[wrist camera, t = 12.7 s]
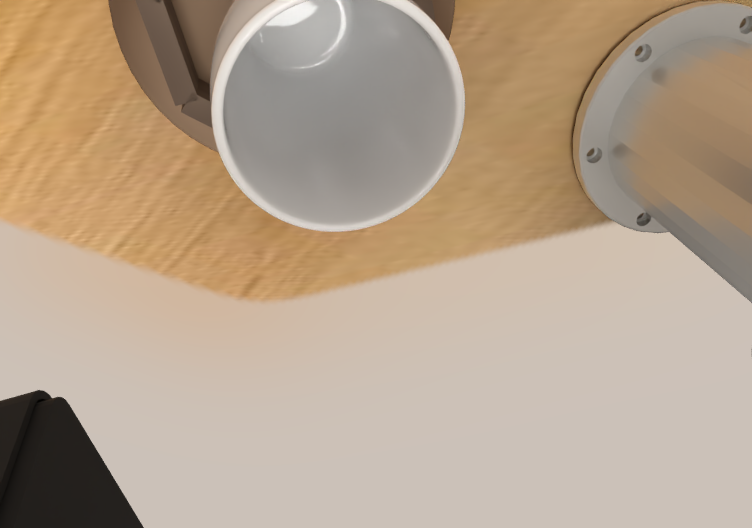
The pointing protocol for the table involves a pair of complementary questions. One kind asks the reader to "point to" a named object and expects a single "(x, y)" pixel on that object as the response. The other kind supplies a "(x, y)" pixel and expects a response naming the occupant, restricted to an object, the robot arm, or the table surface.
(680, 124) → the robot arm
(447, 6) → the glass holder
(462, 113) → the drinking glass
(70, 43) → the table surface
